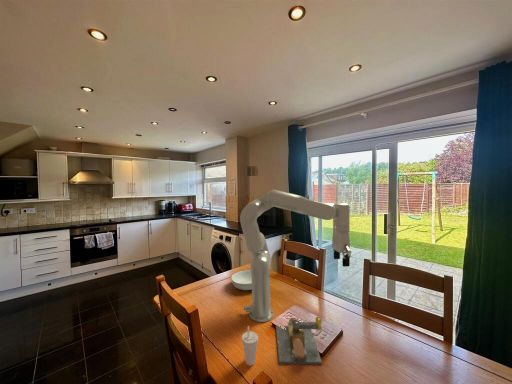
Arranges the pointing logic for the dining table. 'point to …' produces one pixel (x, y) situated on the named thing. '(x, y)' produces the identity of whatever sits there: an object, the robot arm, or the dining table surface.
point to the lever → (306, 325)
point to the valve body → (296, 346)
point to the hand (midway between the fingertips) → (341, 262)
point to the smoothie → (250, 346)
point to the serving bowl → (242, 280)
